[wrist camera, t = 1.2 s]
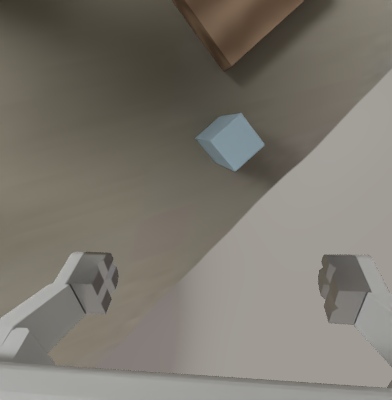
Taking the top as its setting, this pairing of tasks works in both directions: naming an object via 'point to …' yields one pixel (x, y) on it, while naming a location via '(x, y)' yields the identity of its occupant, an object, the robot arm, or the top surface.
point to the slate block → (230, 141)
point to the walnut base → (233, 24)
